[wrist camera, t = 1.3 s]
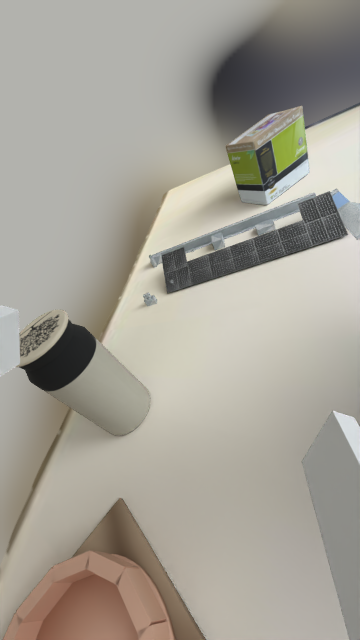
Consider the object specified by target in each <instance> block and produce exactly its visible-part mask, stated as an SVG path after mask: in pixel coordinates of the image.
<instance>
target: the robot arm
mask: <svg viewBox="0 0 360 640" xmlns="http://www.w3.org/2000/svg"><path fill="white" fill-rule="evenodd" d="M19 364H20V340H19V310H16V309H13V308H10V307H6V306H4V305H3V306H0V376H2V375H3V374H5V373H6V372H8V371H10V370H11V369H13V368H14V367H16V366H17V365H19ZM302 463H303V467H304V471H305V475H306V478H307V482H308V486H309V490H310V493H311V497H312V501H313V505H314V508H315V512H316V516H317V520H318V523H319V527H320V531H321V535H322V538H323V542H324V546H325V550H326V553H327V557H328V561H329V565H330V568H331V572H332V576H333V580H334V583H335V587H336V591H337V595H338V598H339V602H340V606H341V610H342V613H343V617H344V621H345V625H346V628H347V632H348V636H349V640H360V427H359V425H358V423H357V422H356V420H355V418H354V417H351V416H348V415H345V414H342V413H339V412H335V411H332V412H331V414H330V416H329V417H328V419H327V421H326V422H325V424H324V426H323V427H322V429H321V431H320V432H319V434H318V436H317V437H316V439H315V441H314V442H313V444H312V445H311V447H310V449H309V450H308V452H307V454H306V455H305V457H304V459H303V460H302Z"/></svg>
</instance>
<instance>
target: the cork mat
mask: <svg viewBox="0 0 360 640" xmlns="http://www.w3.org/2000/svg"><path fill="white" fill-rule="evenodd" d="M87 551H97V552H105V553H109V554H117V555H122V556H125V557H128V558H130V559H131V560H133V561H135V562H136V563H138V564H139V565H140V566H141V567H142V568H143V569H144V570H145V571H146V572H147V573H148V574H149V575H150V577H151V578H152V579H153V581H154V583H155V584H156V586H157V587H158V589H159V591H160V593H161V595H162V597H163V599H164V601H165V604H166V606H167V609H168V612H169V615H170V618H171V621H172V625H173V629H174V633H175V637H176V640H206V639H205V638H204V636H203V634H202V633H201V631H200V629H199V628H198V626H197V624H196V623H195V621H194V619H193V617H192V616H191V614H190V612H189V611H188V609H187V607H186V606H185V604H184V602H183V601H182V599H181V597H180V595H179V594H178V592H177V590H176V589H175V587H174V585H173V584H172V582H171V580H170V579H169V577H168V575H167V573H166V572H165V570H164V568H163V567H162V565H161V563H160V562H159V560H158V558H157V556H156V555H155V553H154V551H153V550H152V548H151V546H150V545H149V543H148V541H147V540H146V538H145V536H144V534H143V533H142V531H141V529H140V528H139V526H138V524H137V523H136V521H135V519H134V518H133V516H132V514H131V512H130V511H129V509H128V507H127V506H126V504H125V502H124V501H123V499H121V498H119V500H118V501H117V502H116V503H115V505H114V506H113V507H112V508H111V510H110V511H109V512H108V513H107V515H106V516H105V517H104V518H103V520H102V521H101V522H100V523H99V524H98V526H97V527H96V528H95V529H94V531H93V532H92V533H91V534H90V536H89V537H88V538H87V539H86V541H85V542H84V543H83V544H82V546H81V547H80V548H79V549H78V551H77V552H76V553H75V554H74V556H73V557H76V556H78V555H80V554H83V553H85V552H87ZM73 557H72V558H73Z"/></svg>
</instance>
